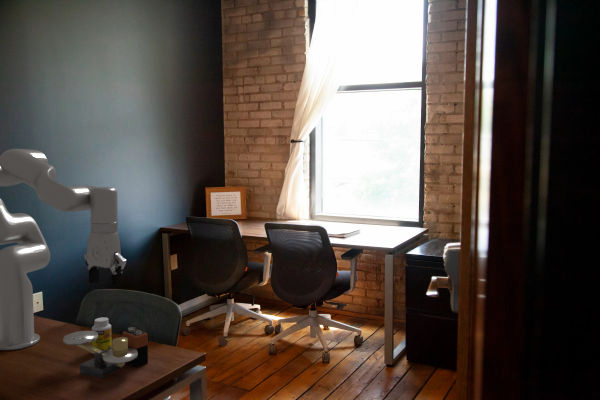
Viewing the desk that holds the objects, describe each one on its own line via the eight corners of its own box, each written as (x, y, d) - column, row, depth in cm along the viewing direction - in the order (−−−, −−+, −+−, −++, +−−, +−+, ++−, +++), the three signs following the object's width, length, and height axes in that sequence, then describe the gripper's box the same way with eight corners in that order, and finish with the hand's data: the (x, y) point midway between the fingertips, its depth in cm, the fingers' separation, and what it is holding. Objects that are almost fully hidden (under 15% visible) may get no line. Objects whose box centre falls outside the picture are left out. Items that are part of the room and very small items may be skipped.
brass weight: (109, 355, 130) (108, 341, 129) (119, 350, 133) (119, 336, 133) (120, 357, 128) (120, 343, 128) (131, 352, 132) (131, 338, 132)
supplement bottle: (94, 356, 144) (93, 323, 143) (90, 350, 148) (89, 318, 148) (113, 352, 147) (112, 320, 146) (109, 346, 152) (109, 315, 151)
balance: (56, 370, 134) (55, 339, 133) (81, 358, 142) (81, 329, 142) (122, 385, 126) (121, 351, 125) (144, 371, 134) (144, 340, 133)
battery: (135, 357, 143) (134, 325, 143) (148, 363, 139) (148, 330, 139) (122, 362, 140) (121, 328, 139) (135, 368, 136) (135, 334, 135)
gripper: (74, 227, 144) (75, 283, 145) (114, 232, 136) (114, 291, 137) (95, 224, 150) (96, 278, 152) (134, 229, 142) (135, 285, 144)
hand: (105, 284), depth 144 cm, fingers open, 9 cm apart
